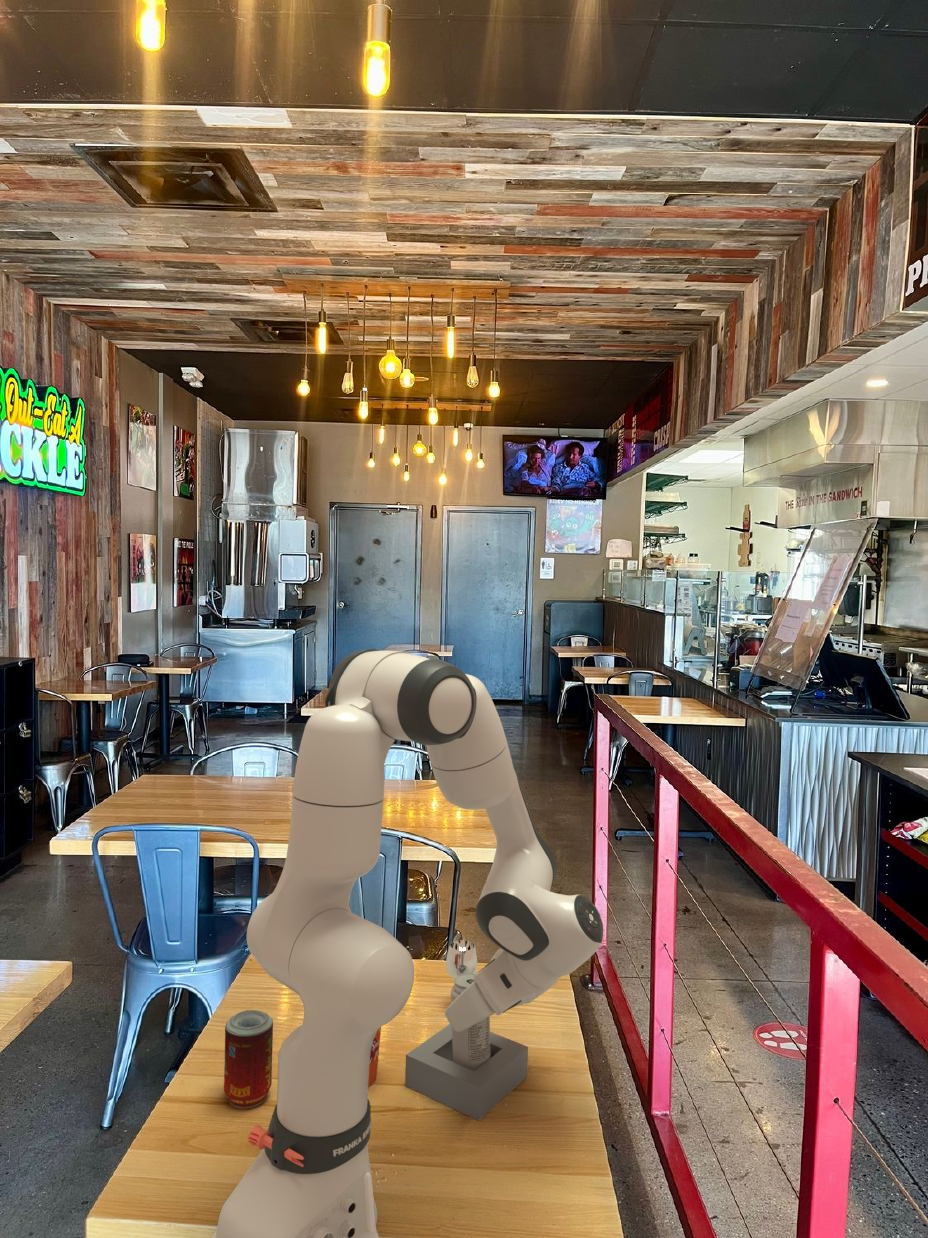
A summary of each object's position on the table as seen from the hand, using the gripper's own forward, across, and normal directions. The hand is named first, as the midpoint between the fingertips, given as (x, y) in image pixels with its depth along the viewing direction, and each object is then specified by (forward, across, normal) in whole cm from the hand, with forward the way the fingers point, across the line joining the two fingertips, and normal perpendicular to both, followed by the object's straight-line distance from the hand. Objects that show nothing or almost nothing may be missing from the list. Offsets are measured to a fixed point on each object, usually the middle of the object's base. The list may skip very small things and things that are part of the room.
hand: (466, 1012), depth 134 cm
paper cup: (+17, +10, -2) cm, 20 cm away
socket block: (+7, 0, +8) cm, 11 cm away
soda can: (+24, +24, -9) cm, 35 cm away
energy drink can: (+6, 0, +8) cm, 10 cm away
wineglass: (+18, -18, -2) cm, 25 cm away
